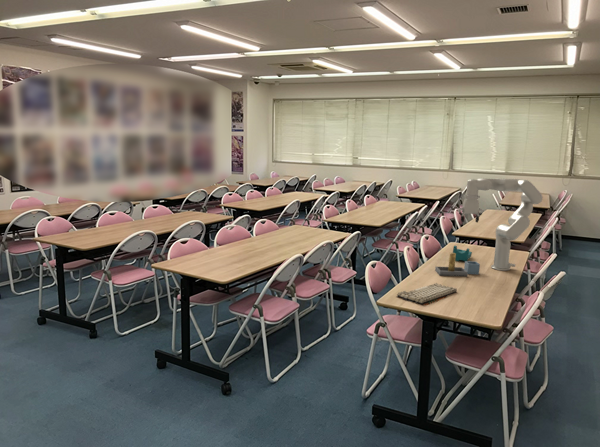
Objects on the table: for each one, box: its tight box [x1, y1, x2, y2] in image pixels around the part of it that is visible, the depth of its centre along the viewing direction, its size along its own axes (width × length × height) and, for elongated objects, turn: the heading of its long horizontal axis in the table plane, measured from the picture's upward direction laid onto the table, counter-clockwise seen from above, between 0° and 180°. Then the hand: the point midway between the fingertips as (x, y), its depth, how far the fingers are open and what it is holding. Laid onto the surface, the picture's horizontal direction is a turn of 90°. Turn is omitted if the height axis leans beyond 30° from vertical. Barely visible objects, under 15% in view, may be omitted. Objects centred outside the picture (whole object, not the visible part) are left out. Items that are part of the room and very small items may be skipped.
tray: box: [434, 265, 468, 278], centre depth 315 cm, size 18×12×3 cm, turn 88°
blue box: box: [463, 260, 481, 275], centre depth 318 cm, size 8×8×7 cm
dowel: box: [447, 252, 456, 271], centre depth 314 cm, size 4×4×13 cm
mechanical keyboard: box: [396, 282, 458, 306], centre depth 270 cm, size 38×19×3 cm, turn 132°
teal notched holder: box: [452, 245, 473, 262], centre depth 356 cm, size 18×11×10 cm, turn 149°
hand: (469, 222), depth 323 cm, fingers open, 9 cm apart
